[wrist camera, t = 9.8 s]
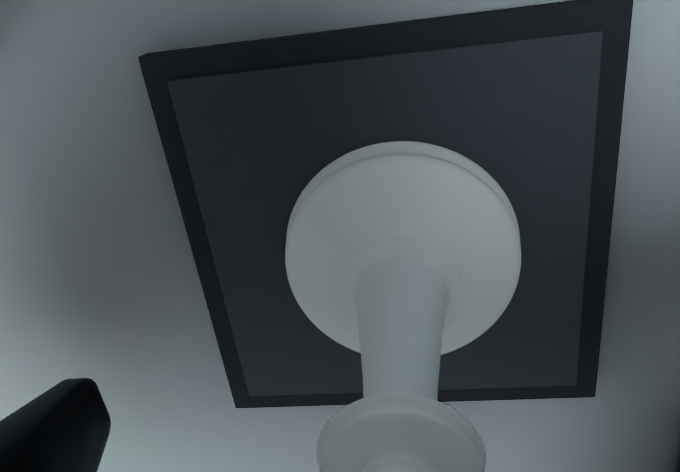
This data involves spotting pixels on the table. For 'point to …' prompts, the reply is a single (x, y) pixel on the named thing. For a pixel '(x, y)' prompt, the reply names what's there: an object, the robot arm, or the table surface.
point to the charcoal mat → (403, 125)
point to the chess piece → (402, 294)
